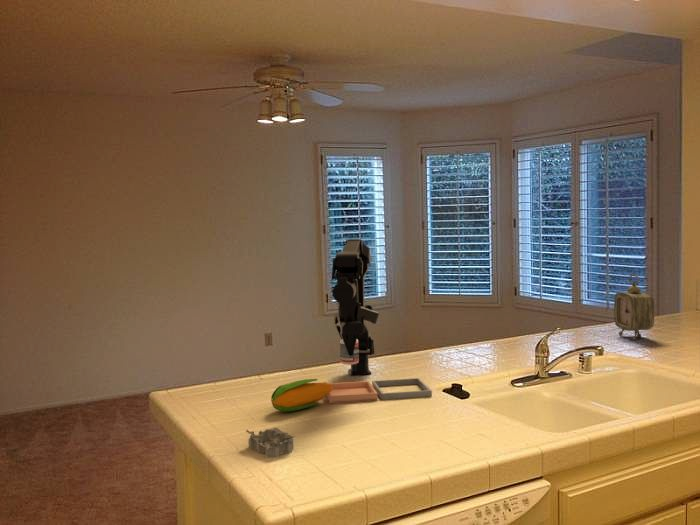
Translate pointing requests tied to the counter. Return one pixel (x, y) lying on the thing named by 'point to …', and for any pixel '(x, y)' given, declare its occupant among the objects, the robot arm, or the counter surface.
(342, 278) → the robot arm
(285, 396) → the corn
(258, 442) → the egg carton
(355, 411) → the counter surface
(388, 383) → the grey frame
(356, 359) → the pill bottle
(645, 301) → the tabletop clock
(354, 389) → the terracotta dish
